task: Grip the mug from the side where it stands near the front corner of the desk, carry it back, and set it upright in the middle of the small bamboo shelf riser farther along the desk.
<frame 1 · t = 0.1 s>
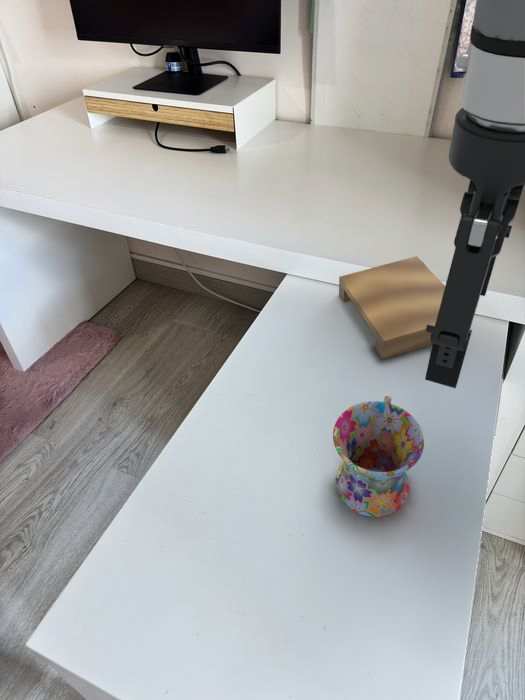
hand: (457, 332, 50), 19 cm above the table, tool pointing down, fingers open, 13 cm apart
shelf: (399, 314, 80), on the table
mug: (373, 477, 61), on the table
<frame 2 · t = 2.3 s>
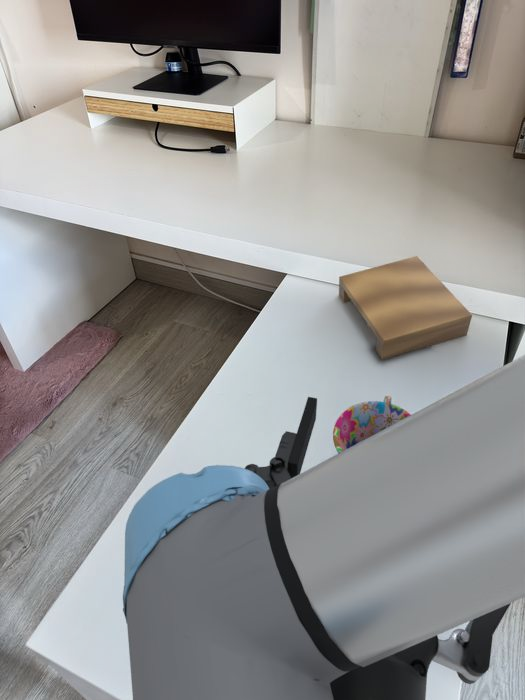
hand: (394, 425, 41), 21 cm above the table, tool horizontal, fingers open, 13 cm apart
nothing on the table moved.
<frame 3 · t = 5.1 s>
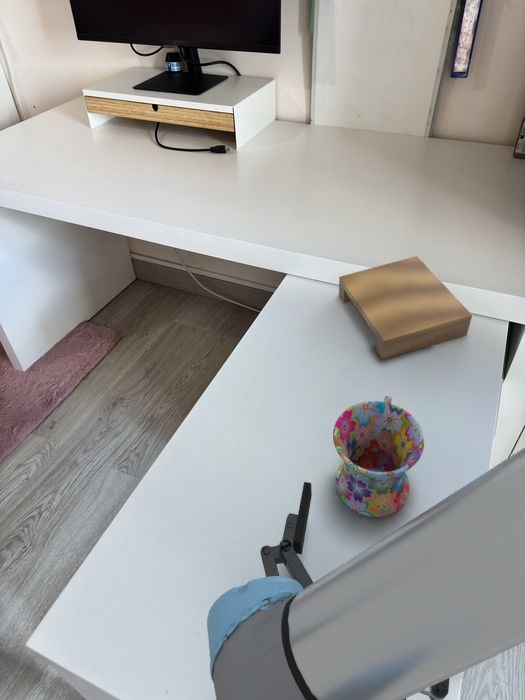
hand: (373, 498, 52), 6 cm above the table, tool horizontal, fingers open, 13 cm apart
nothing on the table moved.
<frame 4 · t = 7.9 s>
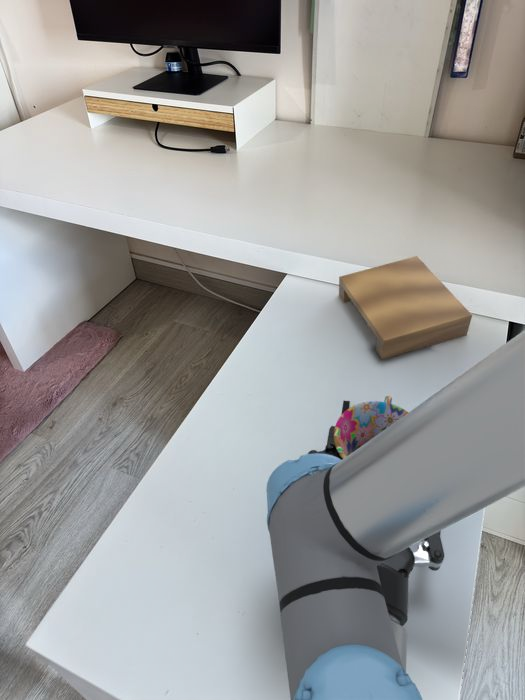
hand: (380, 412, 60), 7 cm above the table, tool horizontal, fingers closed on mug, 7 cm apart
mug: (373, 477, 61), on the table, touching gripper
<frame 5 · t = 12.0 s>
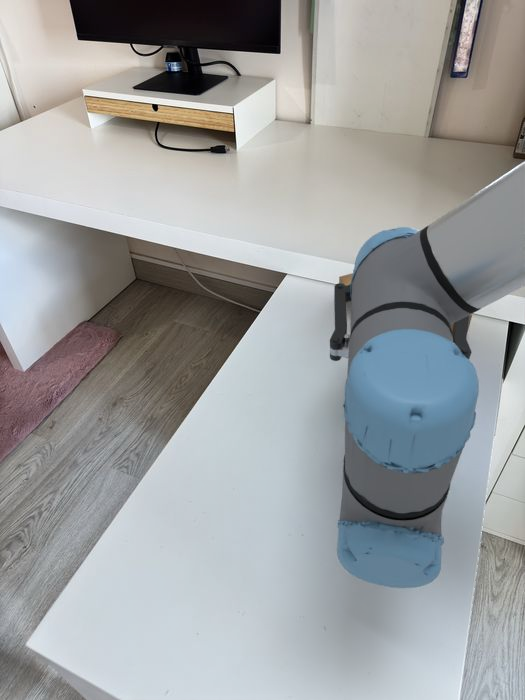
hand: (401, 257, 61), 18 cm above the table, tool horizontal, fingers closed on mug, 7 cm apart
mug: (395, 324, 63), point 11 cm above the table, touching gripper
when the fingers open (10 cm above the table, at t = 16.3 s): mug stays where it is, resting on shelf.
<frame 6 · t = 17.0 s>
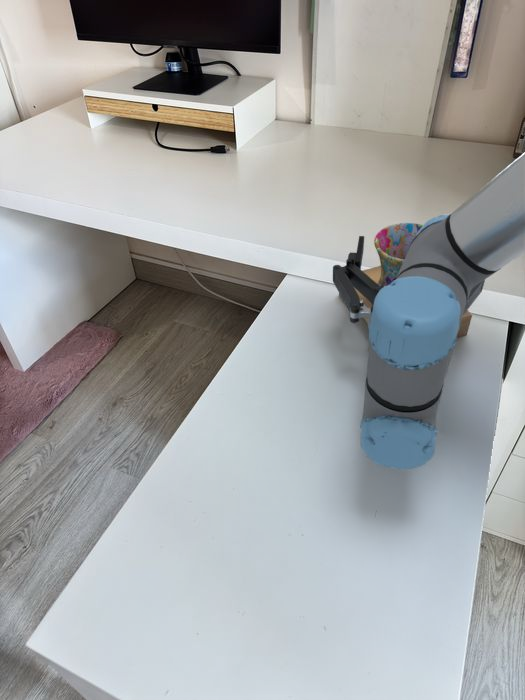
hand: (407, 245, 75), 11 cm above the table, tool horizontal, fingers open, 13 cm apart
mug: (401, 295, 78), point 4 cm above the table, touching shelf
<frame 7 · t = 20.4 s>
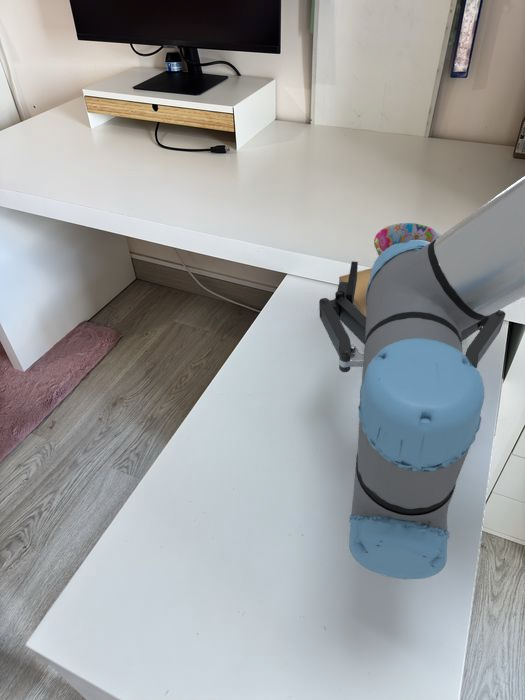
hand: (409, 273, 63), 16 cm above the table, tool horizontal, fingers open, 13 cm apart
nothing on the table moved.
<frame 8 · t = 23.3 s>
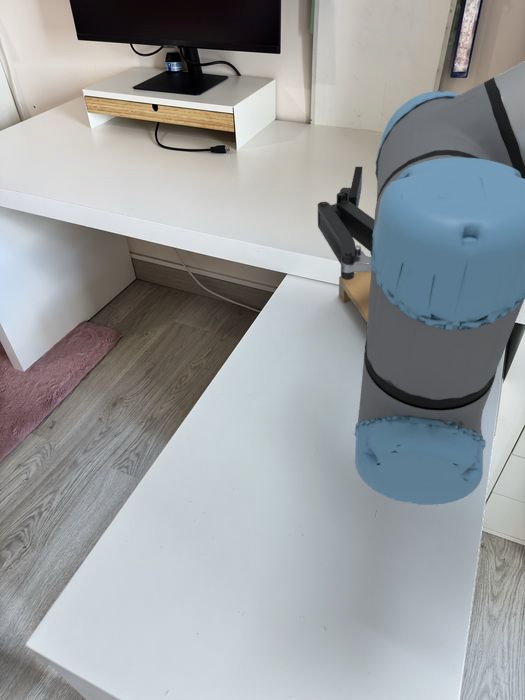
hand: (422, 179, 54), 28 cm above the table, tool horizontal, fingers open, 13 cm apart
nothing on the table moved.
at the end: mug inside the target area on the shelf (0.0 cm from its centre), point 3.8 cm above the shelf's base; mug tilted 0°; the gripper is holding nothing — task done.
